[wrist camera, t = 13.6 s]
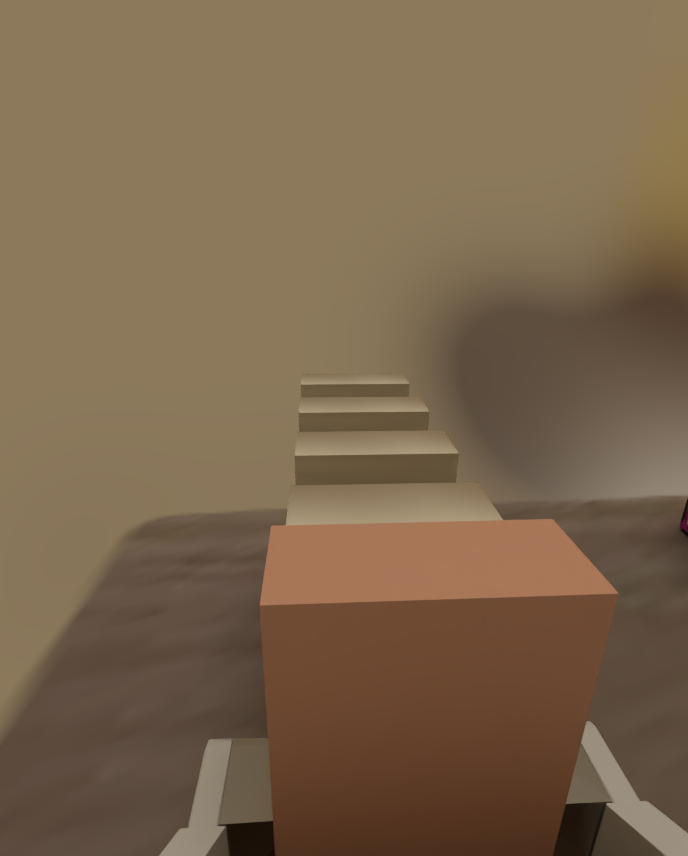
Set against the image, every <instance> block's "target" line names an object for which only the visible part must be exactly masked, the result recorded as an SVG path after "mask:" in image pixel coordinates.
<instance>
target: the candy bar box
mask: <svg viewBox="0 0 688 856" xmlns="http://www.w3.org/2000/svg"><path fill="white" fill-rule="evenodd" d="M680 527H681V528H682V529H683V530H684V531H685V532H687V533H688V499H687V502H686V506H685V509H684V512H683V516H682V519H681V523H680Z"/></svg>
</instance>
